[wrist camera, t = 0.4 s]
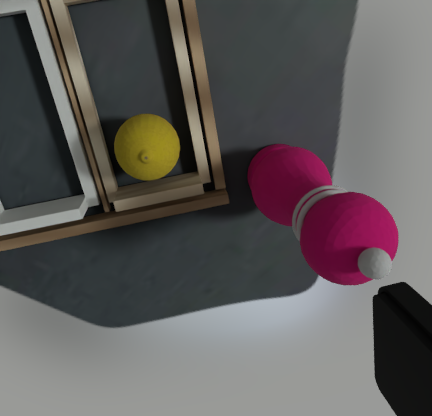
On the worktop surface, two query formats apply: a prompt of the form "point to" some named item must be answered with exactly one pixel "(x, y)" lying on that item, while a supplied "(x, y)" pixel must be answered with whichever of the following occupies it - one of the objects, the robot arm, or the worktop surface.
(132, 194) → the frame
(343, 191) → the pepper mill
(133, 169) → the lemon
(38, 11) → the frame
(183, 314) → the worktop surface
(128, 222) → the lane bed
